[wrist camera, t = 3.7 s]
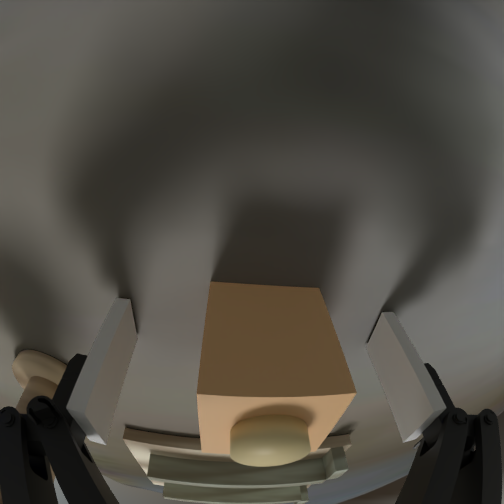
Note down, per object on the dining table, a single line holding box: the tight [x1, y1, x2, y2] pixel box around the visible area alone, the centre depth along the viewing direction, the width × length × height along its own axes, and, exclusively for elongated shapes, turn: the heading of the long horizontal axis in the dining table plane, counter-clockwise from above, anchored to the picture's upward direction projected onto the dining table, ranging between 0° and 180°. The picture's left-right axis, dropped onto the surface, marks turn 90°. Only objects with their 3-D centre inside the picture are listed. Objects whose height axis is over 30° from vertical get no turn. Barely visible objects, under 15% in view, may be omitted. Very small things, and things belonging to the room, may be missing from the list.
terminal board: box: [123, 428, 351, 504], centre depth 23 cm, size 16×20×4 cm
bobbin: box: [0, 350, 67, 504], centre depth 12 cm, size 8×8×13 cm
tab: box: [197, 281, 357, 467], centre depth 11 cm, size 5×5×7 cm
